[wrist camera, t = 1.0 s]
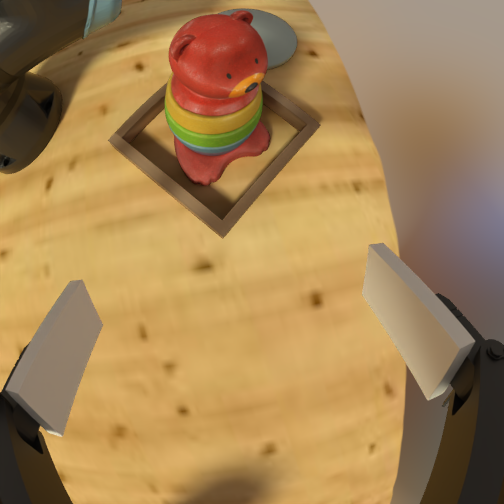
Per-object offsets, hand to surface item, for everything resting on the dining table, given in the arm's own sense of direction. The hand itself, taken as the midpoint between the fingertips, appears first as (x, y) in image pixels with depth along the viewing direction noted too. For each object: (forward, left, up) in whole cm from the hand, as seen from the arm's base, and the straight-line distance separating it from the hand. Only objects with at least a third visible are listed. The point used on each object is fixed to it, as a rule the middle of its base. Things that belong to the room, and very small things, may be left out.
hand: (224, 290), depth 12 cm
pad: (-18, +28, -18) cm, 38 cm away
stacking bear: (-10, +12, -19) cm, 24 cm away
